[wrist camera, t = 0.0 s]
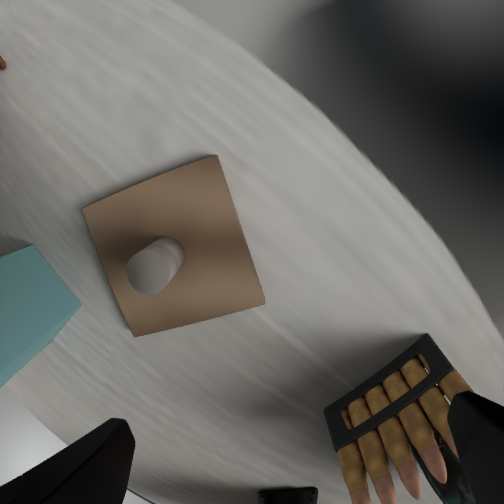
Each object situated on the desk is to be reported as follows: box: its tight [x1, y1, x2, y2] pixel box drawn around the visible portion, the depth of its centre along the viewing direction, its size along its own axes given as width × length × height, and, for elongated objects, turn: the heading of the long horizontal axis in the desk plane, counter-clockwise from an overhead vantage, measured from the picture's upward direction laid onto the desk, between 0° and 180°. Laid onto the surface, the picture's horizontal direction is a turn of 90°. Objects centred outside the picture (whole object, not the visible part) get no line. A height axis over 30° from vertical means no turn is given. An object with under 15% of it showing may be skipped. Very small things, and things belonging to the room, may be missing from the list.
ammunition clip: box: [324, 333, 474, 504], centre depth 18 cm, size 11×2×12 cm, turn 132°
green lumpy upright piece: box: [403, 386, 477, 504], centre depth 15 cm, size 20×6×20 cm, turn 51°
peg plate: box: [82, 155, 265, 337], centre depth 19 cm, size 10×10×5 cm
